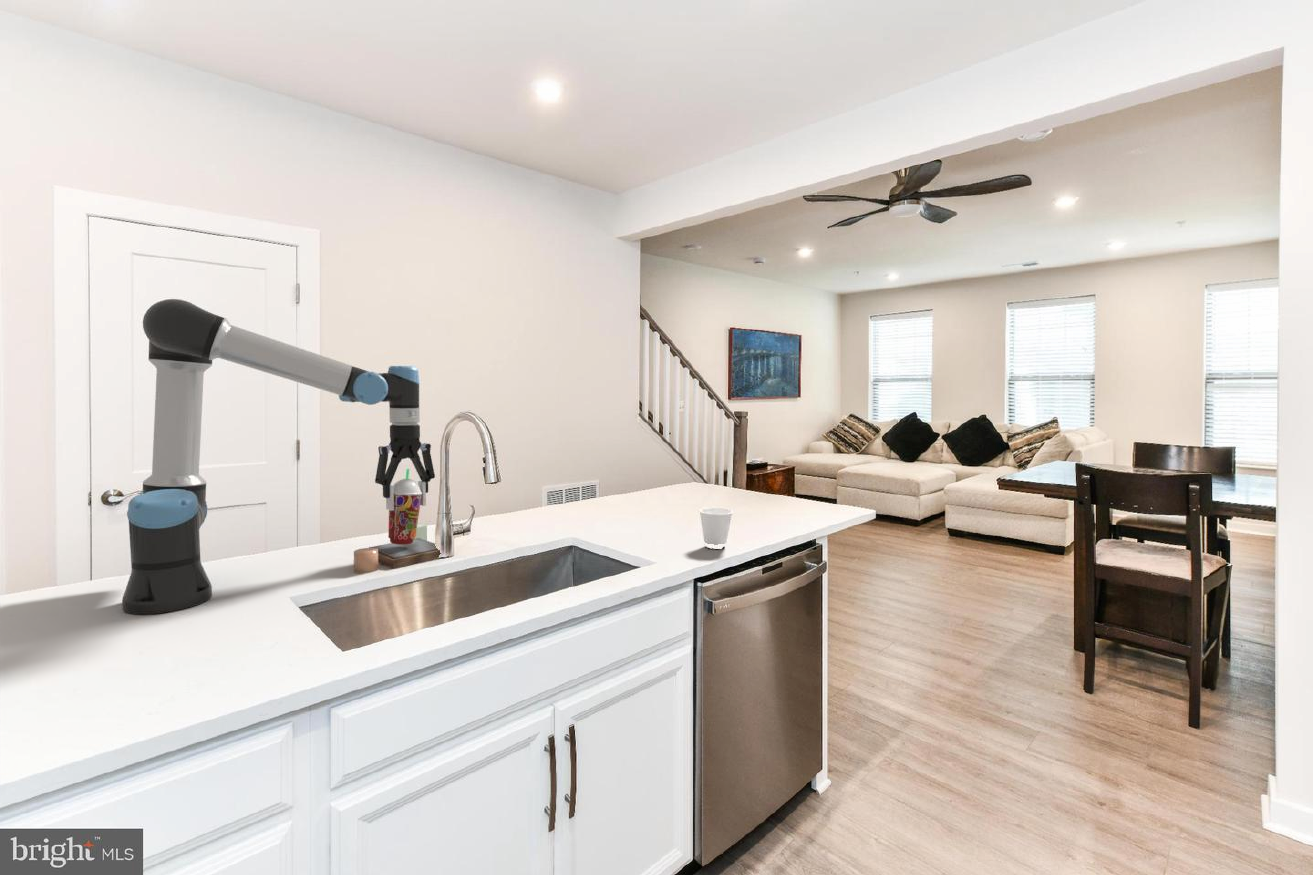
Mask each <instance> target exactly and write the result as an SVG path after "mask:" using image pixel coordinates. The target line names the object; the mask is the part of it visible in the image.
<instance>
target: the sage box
mask: <svg viewBox="0 0 1313 875" xmlns="http://www.w3.org/2000/svg"><path fill="white" fill-rule="evenodd" d="M416 538H420V539H423V540H426V541H428V526H427V524H423V523H422V524H420V523H417V530H416V537H415V539H416Z"/></svg>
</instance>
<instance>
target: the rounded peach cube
mask: <svg viewBox="0 0 1313 875" xmlns="http://www.w3.org/2000/svg"><path fill="white" fill-rule="evenodd" d="M377 571H379V563H378V549H376V548H369V547H364V548H362V547H361V548H359V549H355V550H354V551H353V572H354V573H355V574H356V573H357V574H370V573H373V572H374V573H375V572H377Z"/></svg>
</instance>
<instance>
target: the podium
mask: <svg viewBox="0 0 1313 875" xmlns="http://www.w3.org/2000/svg"><path fill="white" fill-rule="evenodd" d="M435 544H436V543H434V542H431V541H429V540H427V541H426V540H423V539H420V538H416V539H413V543H411V544H393V543H391V542H390V543H385V544H379V545H375V546H369V547H368V548H376V549H378V564H381V565H383V566H386V567H388V568H391V569H393V570H395V569H398V568H403V567H407V566H412V565H416V564H421V563H426V561H427V562H431V561H436V560H438V559H437V558H438V557H439V555H440V554H441V553H440V550H438V549H437V548H436V546H435ZM435 559H436V560H435Z"/></svg>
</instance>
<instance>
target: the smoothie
mask: <svg viewBox="0 0 1313 875" xmlns="http://www.w3.org/2000/svg"><path fill="white" fill-rule="evenodd" d="M405 471H406V473H405V478H402V479H399V480H398V481H396V482H395V483H394V484H393V485H392V486H393V487H394V510H392V511H391V510H388V534H387V535H388V537H387V538H389V542H390V543H393V544H411V543H413V539H415V537H416V530H417V524H419V522H418V521H419V517H420V516H419V515H420V508H421V505H420V504H421V497H422V492H421V489H420V487H419V485H418V482H416V481H415V480H412V479H410V477H409V476H410V468H406V470H405Z"/></svg>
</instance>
